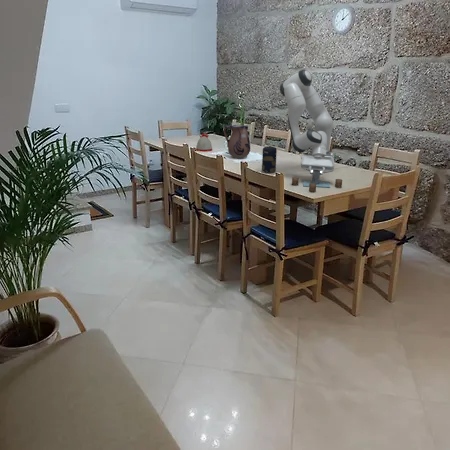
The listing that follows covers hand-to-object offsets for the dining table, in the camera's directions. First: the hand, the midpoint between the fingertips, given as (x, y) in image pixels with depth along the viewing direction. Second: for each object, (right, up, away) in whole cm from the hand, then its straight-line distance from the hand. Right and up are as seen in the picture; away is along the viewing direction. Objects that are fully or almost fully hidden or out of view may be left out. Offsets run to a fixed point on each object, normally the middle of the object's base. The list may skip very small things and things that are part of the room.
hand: (316, 173), depth 260 cm
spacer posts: (-1, -10, -6) cm, 11 cm away
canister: (-26, +5, +33) cm, 42 cm away
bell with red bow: (-74, +34, +109) cm, 136 cm away
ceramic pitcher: (-46, +22, +79) cm, 94 cm away
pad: (+1, -6, +3) cm, 7 cm away
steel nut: (0, -5, +3) cm, 6 cm away
